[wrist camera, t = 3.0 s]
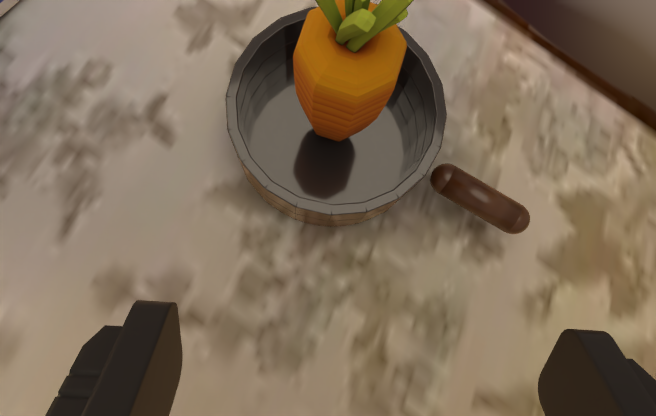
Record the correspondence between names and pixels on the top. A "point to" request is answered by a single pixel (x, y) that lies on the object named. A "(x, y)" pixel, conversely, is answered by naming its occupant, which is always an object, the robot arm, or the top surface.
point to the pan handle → (480, 199)
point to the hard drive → (6, 5)
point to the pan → (322, 153)
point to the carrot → (348, 63)
